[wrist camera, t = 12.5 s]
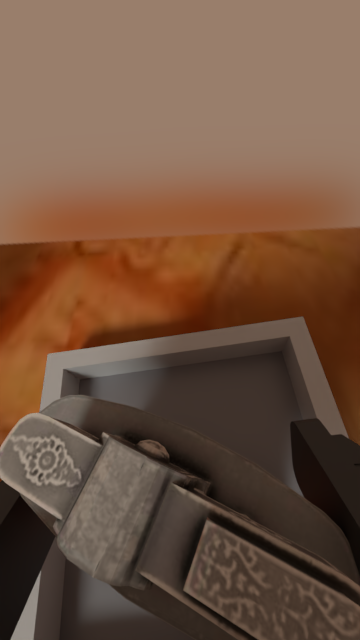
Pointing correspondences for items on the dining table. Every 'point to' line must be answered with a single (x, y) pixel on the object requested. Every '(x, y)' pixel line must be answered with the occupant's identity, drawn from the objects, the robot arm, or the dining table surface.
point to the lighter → (183, 524)
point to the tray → (194, 412)
